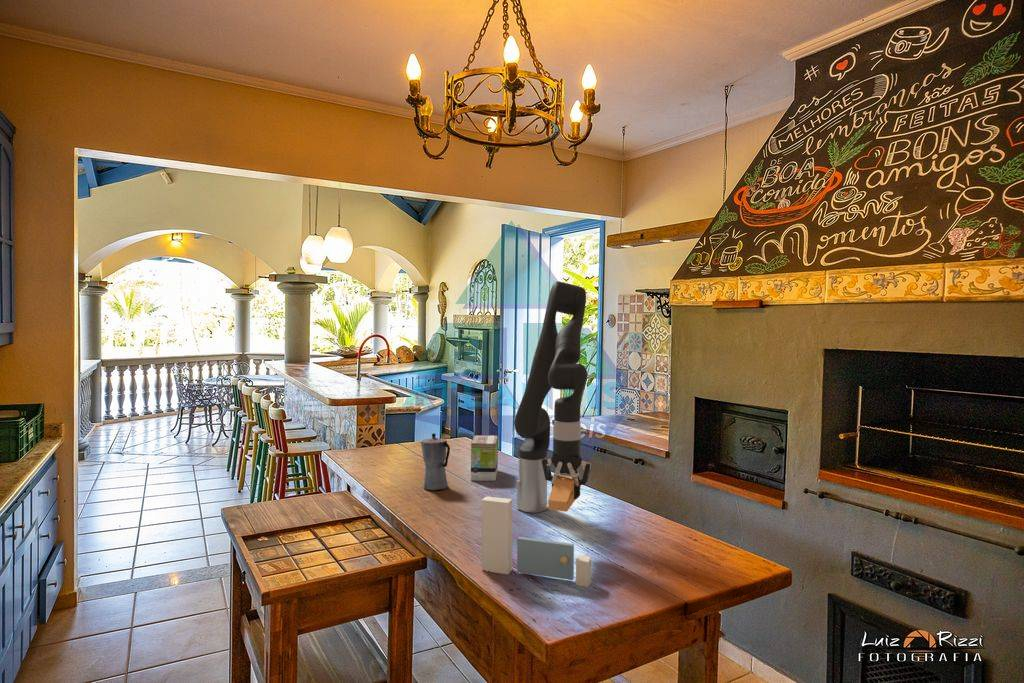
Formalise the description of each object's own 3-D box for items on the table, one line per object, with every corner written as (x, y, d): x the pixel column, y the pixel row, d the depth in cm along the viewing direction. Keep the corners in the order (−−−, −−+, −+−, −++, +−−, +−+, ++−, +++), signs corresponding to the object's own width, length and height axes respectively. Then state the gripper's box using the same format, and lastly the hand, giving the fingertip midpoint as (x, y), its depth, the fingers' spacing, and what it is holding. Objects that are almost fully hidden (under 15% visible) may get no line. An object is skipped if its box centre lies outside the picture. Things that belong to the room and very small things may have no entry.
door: (515, 574, 141) (515, 540, 141) (518, 569, 144) (518, 536, 143) (571, 582, 137) (571, 548, 136) (573, 578, 139) (573, 543, 139)
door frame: (482, 570, 145) (481, 500, 144) (486, 565, 148) (486, 496, 147) (588, 586, 136) (588, 511, 135) (590, 581, 139) (591, 507, 138)
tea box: (496, 481, 220) (496, 443, 219) (470, 481, 220) (469, 443, 219) (498, 470, 235) (498, 434, 234) (473, 470, 235) (473, 434, 234)
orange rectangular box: (566, 511, 149) (567, 489, 149) (548, 509, 151) (548, 486, 150) (576, 498, 160) (576, 476, 159) (558, 496, 161) (559, 475, 161)
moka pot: (432, 480, 221) (431, 429, 220) (460, 488, 211) (460, 434, 210) (413, 486, 213) (412, 433, 212) (441, 495, 204) (441, 439, 203)
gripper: (537, 437, 156) (537, 498, 157) (589, 441, 151) (588, 505, 153) (545, 431, 163) (544, 490, 164) (595, 435, 158) (594, 496, 160)
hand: (566, 497), depth 158 cm, fingers closed on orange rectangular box, 5 cm apart
